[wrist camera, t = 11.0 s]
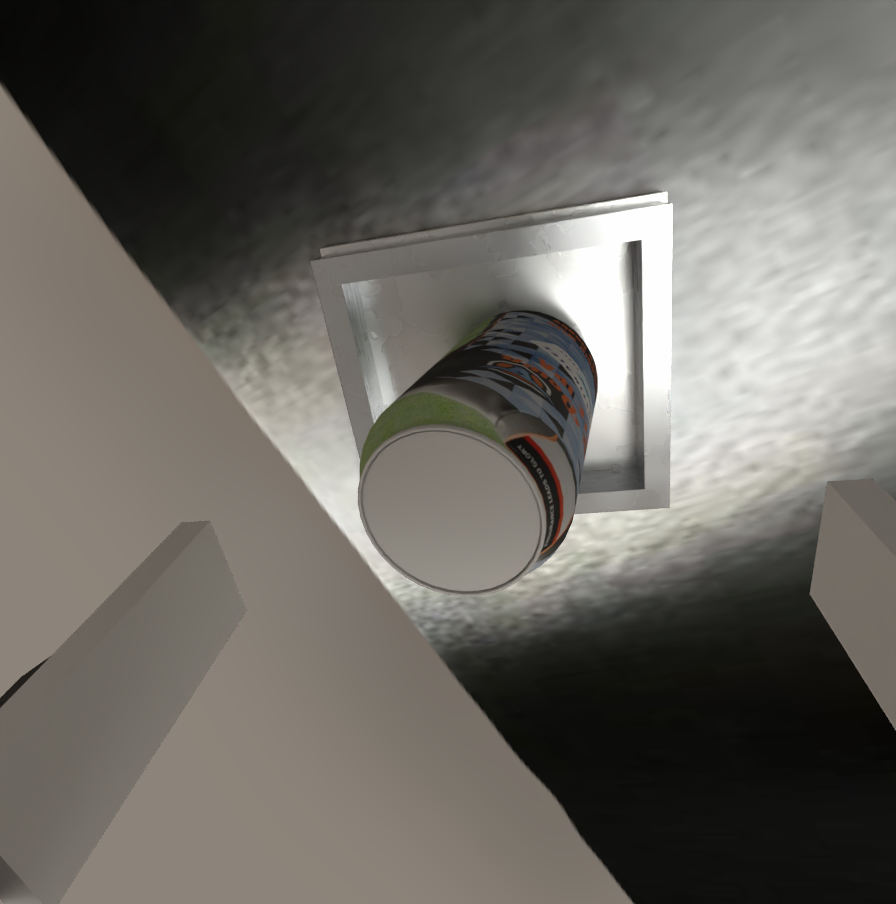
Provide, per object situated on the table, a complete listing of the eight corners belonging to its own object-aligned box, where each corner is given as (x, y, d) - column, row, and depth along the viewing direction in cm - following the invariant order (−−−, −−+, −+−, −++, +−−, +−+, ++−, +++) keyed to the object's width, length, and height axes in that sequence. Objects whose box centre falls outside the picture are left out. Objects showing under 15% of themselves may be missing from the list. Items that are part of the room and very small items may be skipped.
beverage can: (598, 432, 25) (645, 624, 14) (436, 448, 26) (368, 633, 16) (589, 287, 22) (638, 389, 12) (410, 314, 24) (306, 426, 13)
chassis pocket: (327, 246, 24) (292, 258, 20) (661, 191, 21) (687, 195, 18) (387, 499, 29) (367, 544, 26) (660, 478, 27) (681, 525, 23)
